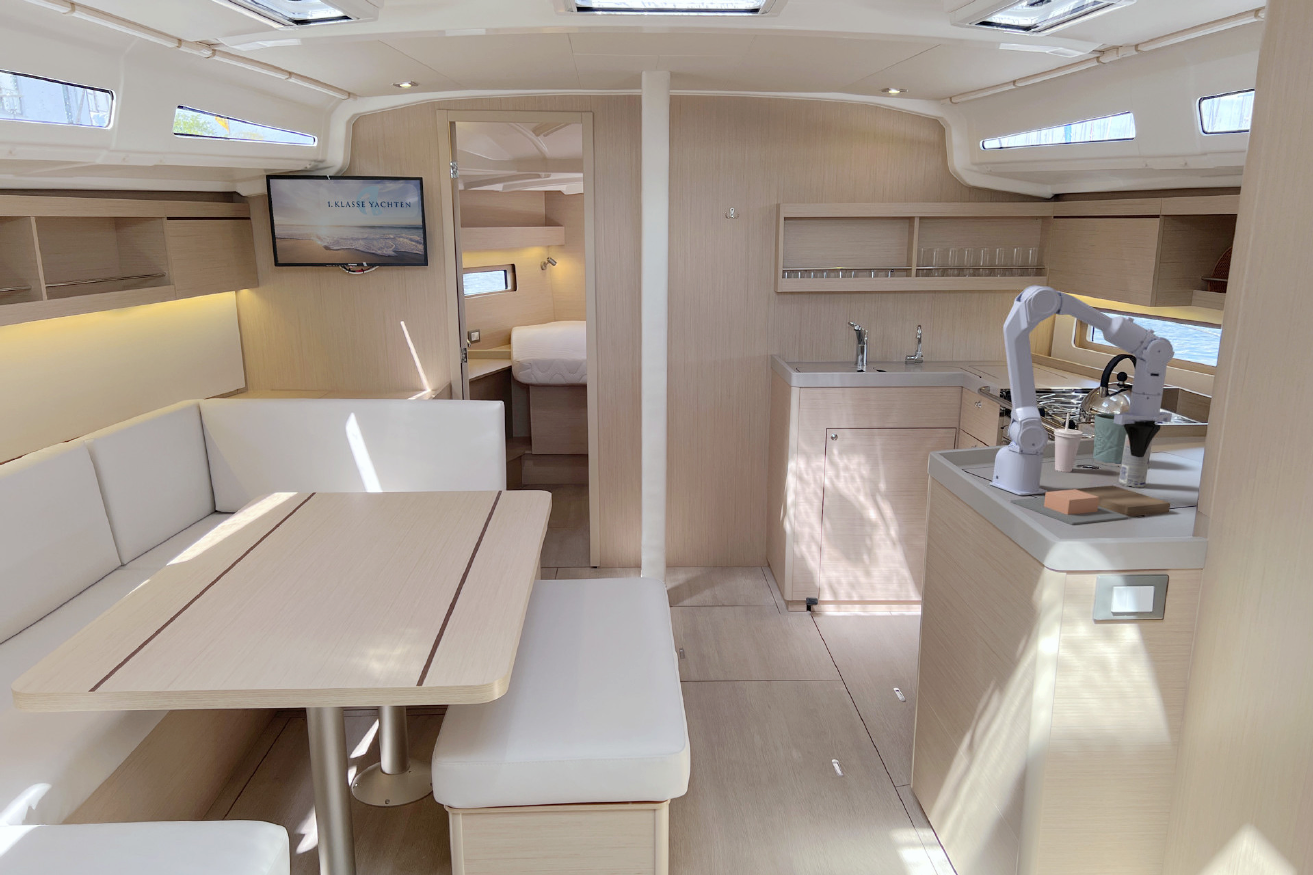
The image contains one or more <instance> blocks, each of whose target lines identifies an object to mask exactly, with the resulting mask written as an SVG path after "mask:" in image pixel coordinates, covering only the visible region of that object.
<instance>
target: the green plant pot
mask: <svg viewBox="0 0 1313 875" xmlns="http://www.w3.org/2000/svg"><path fill="white" fill-rule="evenodd" d="M1115 414H1116V413H1111V412H1110V413H1109V412H1107V413H1106V412H1104V413H1103V412H1101V413H1095V414H1094V430H1093V431H1094V437H1093V446H1094V447H1093V453H1092V454H1093V455H1092V460H1093V459H1095V460H1097V461H1102V462H1105V463H1115V464H1122V457H1123V451H1124V444H1125V437H1126V434H1127V432H1126V430H1125V428H1124V426H1123V425H1120V424H1115V423H1113V422H1114V415H1115Z"/></svg>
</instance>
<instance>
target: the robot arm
mask: <svg viewBox="0 0 1313 875" xmlns="http://www.w3.org/2000/svg"><path fill="white" fill-rule="evenodd" d="M1009 311H1010V312H1009V313H1008V315H1007V318H1006V319H1005V322H1004V323H1003V329H1002V331H1003V338H1004V347H1005V355H1006V356H1005V357H1006V365H1007V371H1008V372H1007V373H1008V379H1009V380H1008V381H1009V388H1010V390H1009V391H1010V396H1011V397H1010V398H1011V405H1012V408H1011V412H1010V417H1011V418H1010V424H1009V427H1008V432H1007V433H1008V436H1009V439H1011V441H1010V443H1009V444H1008V445H1005V446H1003V447H1001V448H1000V449H999V450H998V451H997V453H996V455H995V459H994V468H993V476H992V481H991V482H989V485H990V486H994V488H995V487H996V488H999V489H1001V490H1004V491H1007V492H1010V493H1013V494H1015V495H1018V496H1028V495H1029V496H1030V495H1038V494H1039V495H1040V494H1046V492H1049V491H1048V490H1047V489H1044V488H1041V487H1040V483H1041V482H1040V481H1041V476H1042V475H1041V474H1042V468H1043V461H1044V460H1043V459H1044V452H1045V451H1044V449H1045V447H1046V446H1047V444H1048V442H1049V434H1048V432H1047V430H1046V429H1045V426H1044V425H1043V423H1042V417H1041V414H1040V411H1039V408H1038V404H1037V403H1038V402H1037V392H1036V385H1035V376H1034V369H1033V368H1034V367H1033V358H1032V351H1031V341H1030V340H1031V339H1030V334H1031V332H1033V330H1034V329H1035V328H1036V327H1037V326H1038V325H1039V324H1040V323H1041V322H1043V321H1045V320H1047V319H1049V318H1050V317H1052V316H1053V315H1057V316H1058V315H1059V316H1064V315H1065V316H1066V315H1067V316H1068V315H1069V316H1071V317H1073V318H1075V319H1077V320H1079V321H1082V322H1083V323H1085V324H1087V325H1089V326H1091V327H1093V328H1095V329H1097V330H1100V331H1101V332H1102V336H1103V339H1104V340H1105V341H1106V342H1107V343H1110V345H1111V344H1112V345H1114V346H1115V347H1117V348H1119V349H1121V350H1122V351H1125V352H1126V353H1128V354H1130V355H1133V356H1134V357H1135V359H1136V363H1135V369H1134V373H1133V374H1134V375H1133V379H1132V380H1133V381H1132V387H1131V393H1130V401H1129V407H1128V411H1125V412H1121V413H1114V414H1115V415H1114V422H1113V423H1115V424H1120V425H1123V426H1124V428H1125V430H1126V432H1127V435H1128V438H1129V443H1130V451H1131V456H1135V457H1144V455H1145V452H1146V450H1147V448H1148V446H1149V444H1150V442H1151V440H1152V441H1153V439H1154V437H1155V436H1156V435H1157V434H1158V432H1159V431H1161V425H1160V424H1157V423H1164V422H1165V423H1171V422H1172V418H1173V417H1172V416H1173V413H1171V412H1167V411H1161V407H1162V400H1163V394H1164V387H1165V381H1166V374H1167V366H1168V363H1170V361H1171V360H1172V359H1173V358H1174V356H1175V351H1174V347H1173V345H1172V343H1171V341H1170V340H1169V339H1167V338H1165V337H1162V336H1159V335H1156V334H1154V333H1155V330H1153V329H1152V328H1148V329H1147V328H1145V327H1143V326H1141V325H1139V324H1137V323H1136V322H1134V321H1135V319H1134V318H1133V317H1131V316H1128V315H1127V316H1126V317H1124V316H1115V317H1113V318H1112V317H1110V316H1109V315H1106V314H1105V313H1103V312H1101V311H1100V310H1098V309H1096V308H1094V307H1092V306H1091V305H1089V304H1088V303H1085V302H1084V301H1082V300H1081V299H1079V298H1077V297H1076V296H1073V295H1071V294H1069V293H1066V292H1063V291H1059V290H1056V289H1055V288H1053V287H1051V286H1042V285H1038V284H1035V285H1034V284H1033V285H1030V286H1028V287H1026V288H1025V289H1024V290H1023V291H1021V293H1019V294H1018V295H1017V296H1016V297H1015V298H1014V302H1013V305H1012V306H1011V309H1010V310H1009Z"/></svg>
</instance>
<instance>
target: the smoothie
mask: <svg viewBox="0 0 1313 875" xmlns="http://www.w3.org/2000/svg"><path fill="white" fill-rule="evenodd" d="M1070 415H1071V413H1069V412H1067V414H1066V420H1065V426H1064V427H1065V428H1056V429H1054V432H1053V435H1054V470H1055V471H1057V470H1058V471H1057V472H1061V471H1062V473H1071V471H1073V469H1074V464H1075V461H1076V458H1077V454H1078V451H1079V450H1078V449H1079V446H1080V443H1081V439H1082V438H1083V437H1084V432H1083V431H1081V430H1076V429H1070V428H1069V422H1070V417H1071V416H1070Z"/></svg>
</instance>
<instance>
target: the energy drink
mask: <svg viewBox="0 0 1313 875" xmlns="http://www.w3.org/2000/svg"><path fill="white" fill-rule="evenodd" d="M1152 446H1153V439H1152V440H1151V442H1150V444H1149V446H1148V448H1147V450H1146V452H1145V455H1144V457H1135V456H1131V451H1130V443H1129V438H1128V435H1127V434H1126V437H1125V444H1124V451H1123V457H1122V464H1121V467H1120V472H1119V477H1118V482H1119V484H1120V483H1121V484H1123V485H1122V486H1124V485H1127V486H1126V487H1128V486H1132V487H1131V488H1135V487H1141V488H1144V487H1146V483H1147V475H1148V469H1149V465H1150V464H1149V463H1150V458H1151V452H1152V451H1151V449H1152ZM1121 484H1120V485H1121Z"/></svg>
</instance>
